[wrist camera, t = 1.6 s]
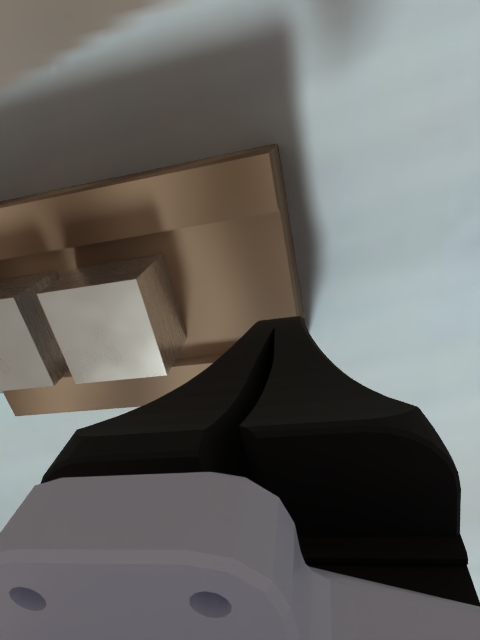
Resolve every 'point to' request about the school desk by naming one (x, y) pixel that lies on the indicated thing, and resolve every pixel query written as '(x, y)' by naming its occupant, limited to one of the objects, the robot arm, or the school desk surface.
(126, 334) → the grey square block
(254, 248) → the channel block
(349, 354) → the school desk surface
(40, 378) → the light grey block
